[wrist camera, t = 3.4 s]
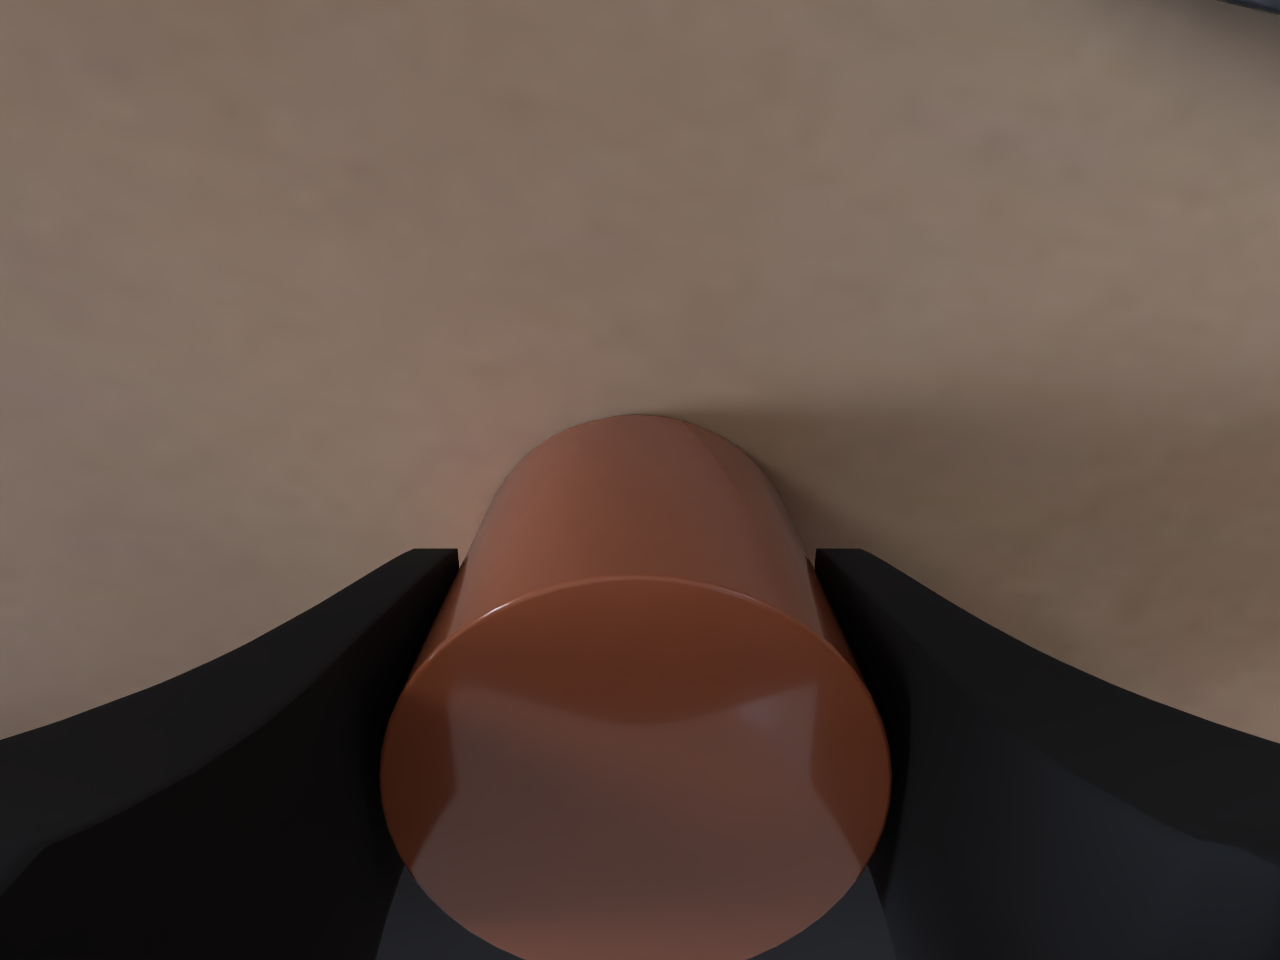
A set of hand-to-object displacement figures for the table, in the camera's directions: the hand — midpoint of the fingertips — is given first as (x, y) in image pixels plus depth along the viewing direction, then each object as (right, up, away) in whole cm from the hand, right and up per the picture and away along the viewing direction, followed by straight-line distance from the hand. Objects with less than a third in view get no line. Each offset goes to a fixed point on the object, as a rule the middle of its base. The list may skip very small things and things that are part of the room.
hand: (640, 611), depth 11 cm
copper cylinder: (0, +1, +1) cm, 1 cm away
